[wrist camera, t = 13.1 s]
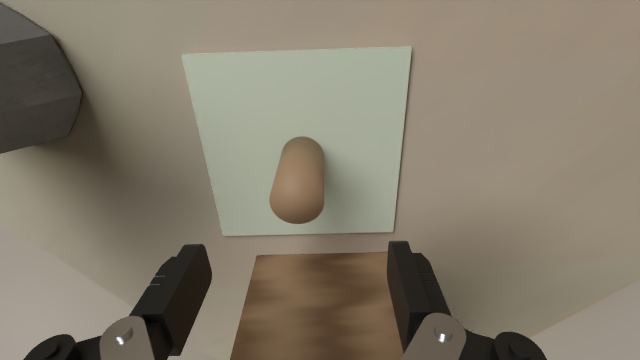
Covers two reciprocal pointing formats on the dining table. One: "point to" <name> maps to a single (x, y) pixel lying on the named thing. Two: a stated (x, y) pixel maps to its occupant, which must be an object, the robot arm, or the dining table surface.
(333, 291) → the box
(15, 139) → the coffeepot
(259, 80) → the lid
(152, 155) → the dining table surface
